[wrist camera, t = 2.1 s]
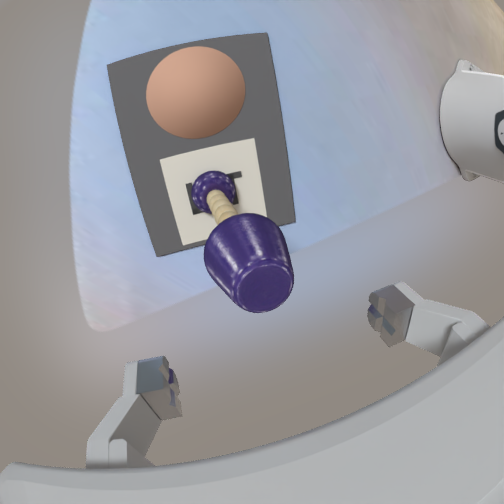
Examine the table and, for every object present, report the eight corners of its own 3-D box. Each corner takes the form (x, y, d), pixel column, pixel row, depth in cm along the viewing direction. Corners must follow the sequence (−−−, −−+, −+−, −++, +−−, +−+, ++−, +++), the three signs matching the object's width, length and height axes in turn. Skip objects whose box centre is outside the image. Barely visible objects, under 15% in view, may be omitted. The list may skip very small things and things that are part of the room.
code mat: (266, 33, 21) (267, 32, 21) (294, 221, 31) (295, 222, 31) (107, 65, 20) (106, 64, 19) (156, 255, 29) (156, 257, 29)
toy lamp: (234, 162, 26) (302, 227, 12) (246, 206, 29) (316, 309, 14) (185, 178, 26) (191, 265, 12) (200, 222, 28) (225, 342, 14)
